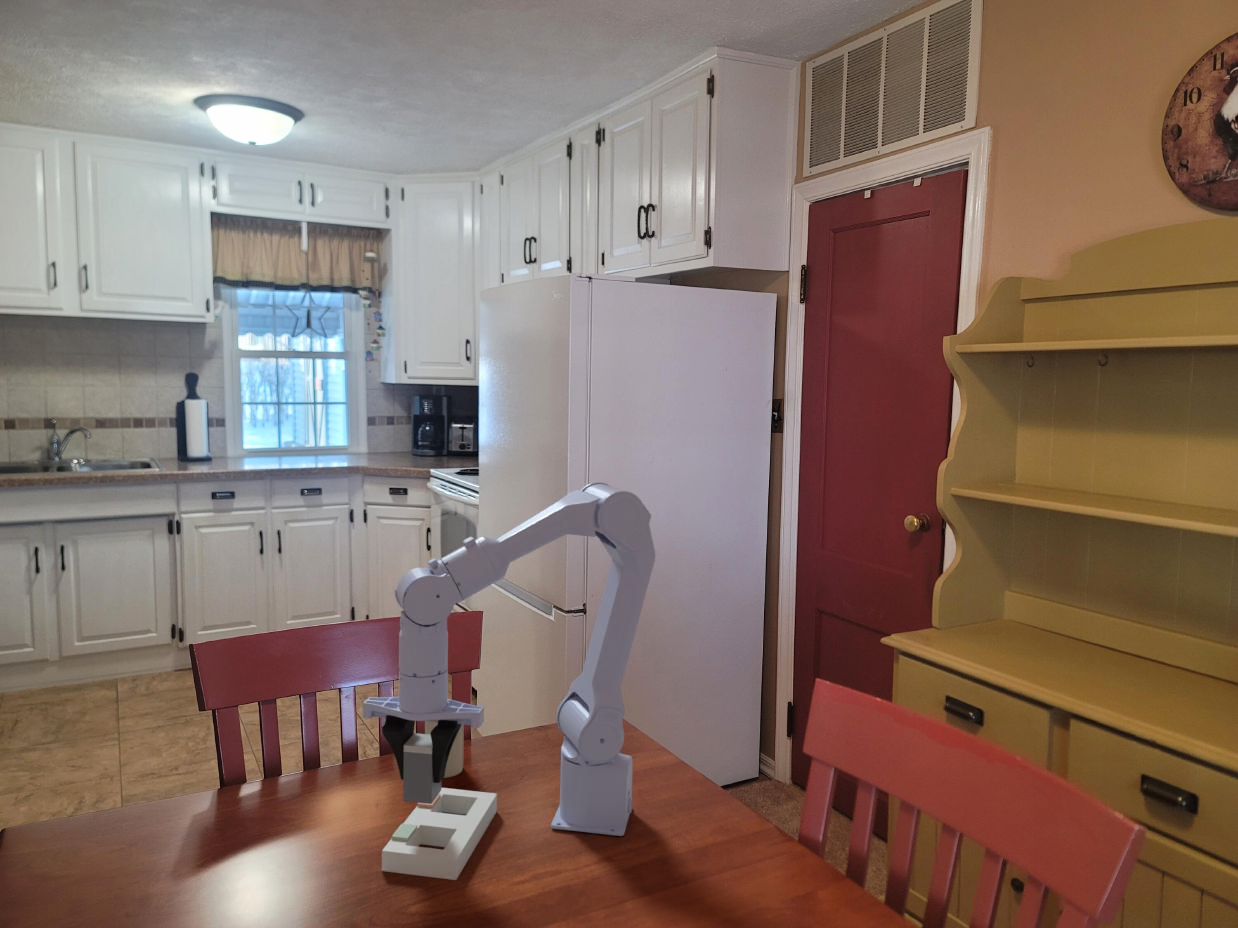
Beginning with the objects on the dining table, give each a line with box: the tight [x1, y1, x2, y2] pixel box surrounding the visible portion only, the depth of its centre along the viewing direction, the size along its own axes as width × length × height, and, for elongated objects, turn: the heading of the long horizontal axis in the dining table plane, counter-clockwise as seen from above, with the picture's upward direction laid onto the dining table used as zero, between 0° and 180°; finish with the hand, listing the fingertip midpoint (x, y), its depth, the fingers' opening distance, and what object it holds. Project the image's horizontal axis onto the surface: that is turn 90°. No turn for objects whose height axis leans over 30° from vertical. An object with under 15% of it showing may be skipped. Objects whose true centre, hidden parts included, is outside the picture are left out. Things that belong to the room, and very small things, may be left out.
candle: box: [424, 721, 465, 779], centre depth 126 cm, size 6×6×10 cm
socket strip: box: [381, 787, 498, 881], centre depth 108 cm, size 9×16×3 cm, turn 171°
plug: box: [403, 733, 442, 804], centre depth 105 cm, size 4×4×7 cm
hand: (422, 777), depth 105 cm, fingers closed on plug, 3 cm apart
